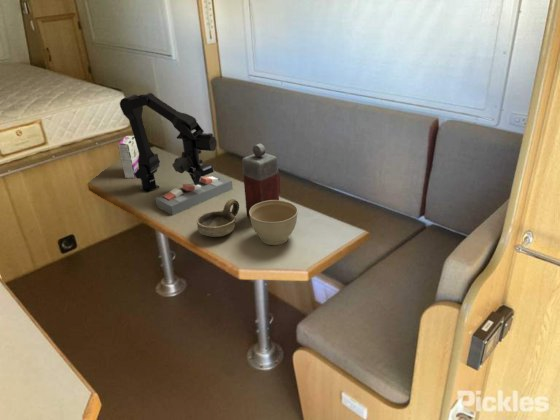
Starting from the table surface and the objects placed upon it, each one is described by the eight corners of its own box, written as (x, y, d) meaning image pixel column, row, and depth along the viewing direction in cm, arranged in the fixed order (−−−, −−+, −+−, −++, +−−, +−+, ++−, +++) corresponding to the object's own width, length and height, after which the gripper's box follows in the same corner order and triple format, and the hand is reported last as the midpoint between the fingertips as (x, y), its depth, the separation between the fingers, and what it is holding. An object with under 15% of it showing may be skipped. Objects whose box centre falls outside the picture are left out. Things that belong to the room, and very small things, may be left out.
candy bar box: (131, 168, 223) (124, 135, 215) (142, 168, 223) (135, 135, 215) (124, 178, 213) (117, 144, 205) (135, 178, 213) (128, 143, 205)
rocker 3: (200, 181, 197) (200, 177, 196) (212, 180, 202) (212, 176, 201) (205, 183, 195) (206, 179, 194) (217, 182, 199) (218, 178, 199)
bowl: (189, 234, 167) (185, 209, 162) (227, 216, 178) (225, 192, 173) (214, 248, 158) (210, 222, 154) (252, 228, 169) (250, 203, 164)
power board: (156, 206, 187) (155, 197, 185) (216, 181, 206) (215, 173, 204) (172, 215, 180) (171, 205, 178) (232, 188, 199) (231, 180, 197)
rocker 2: (182, 188, 191) (182, 184, 191) (195, 187, 196) (195, 183, 196) (187, 191, 189) (188, 186, 188) (200, 190, 194) (201, 186, 193)
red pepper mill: (284, 212, 179) (281, 141, 166) (263, 223, 172) (258, 151, 158) (267, 205, 184) (263, 136, 171) (246, 216, 177) (240, 145, 164)
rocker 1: (165, 200, 187) (163, 196, 186) (177, 190, 190) (175, 187, 189) (170, 202, 184) (168, 199, 183) (182, 193, 187) (181, 189, 186)
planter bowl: (305, 245, 157) (304, 217, 152) (257, 255, 154) (255, 226, 148) (290, 223, 171) (289, 196, 166) (246, 231, 167) (244, 204, 162)
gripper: (160, 150, 187) (167, 185, 194) (188, 161, 175) (194, 198, 183) (183, 141, 194) (189, 176, 201) (212, 151, 182) (216, 188, 190)
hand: (196, 184), depth 194 cm, fingers closed, pressing on rocker 2
